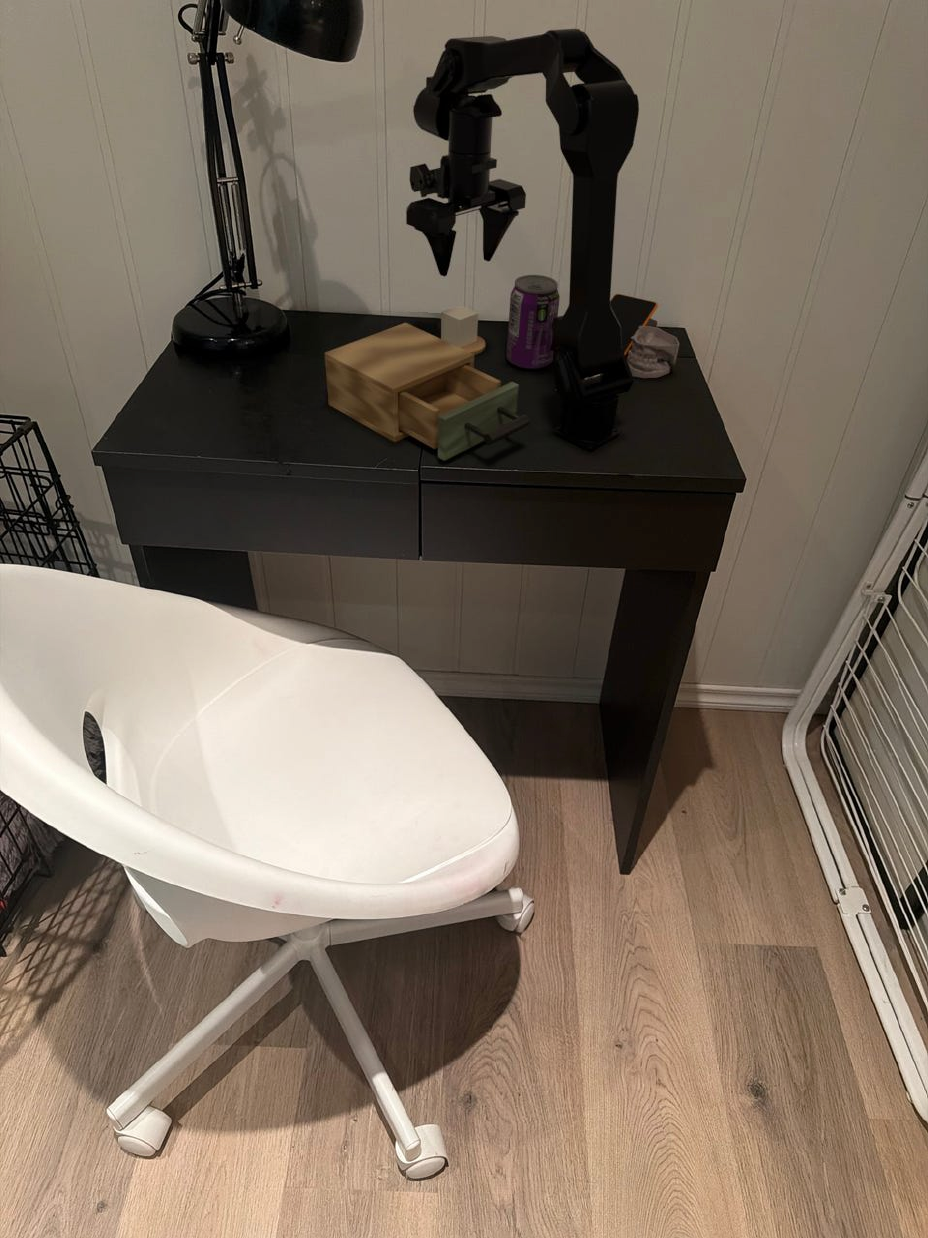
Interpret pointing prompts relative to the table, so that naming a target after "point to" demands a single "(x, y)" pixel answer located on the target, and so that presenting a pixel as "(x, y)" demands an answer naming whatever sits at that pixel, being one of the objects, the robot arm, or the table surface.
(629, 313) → the smartphone
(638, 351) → the dental mold
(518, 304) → the beverage can
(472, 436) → the drawer
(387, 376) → the cabinet
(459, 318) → the block
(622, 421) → the table surface
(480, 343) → the coaster
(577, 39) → the robot arm
